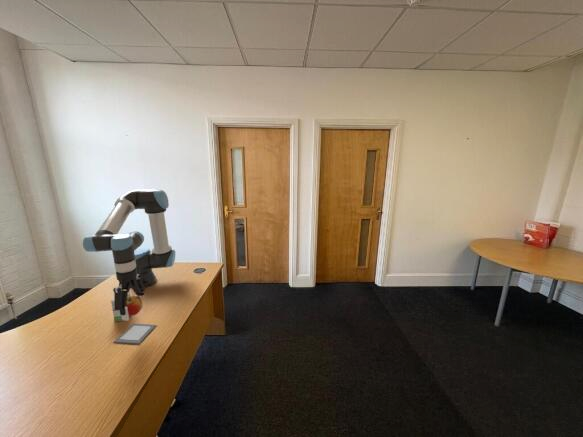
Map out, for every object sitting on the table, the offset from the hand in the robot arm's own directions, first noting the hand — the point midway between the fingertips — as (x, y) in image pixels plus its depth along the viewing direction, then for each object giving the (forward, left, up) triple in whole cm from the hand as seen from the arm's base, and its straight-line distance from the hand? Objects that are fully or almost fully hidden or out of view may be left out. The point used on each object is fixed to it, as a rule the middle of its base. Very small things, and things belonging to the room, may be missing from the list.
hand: (133, 313), depth 104 cm
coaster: (0, 0, -11) cm, 11 cm away
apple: (0, 0, 0) cm, 1 cm away
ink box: (-12, -16, -11) cm, 23 cm away
